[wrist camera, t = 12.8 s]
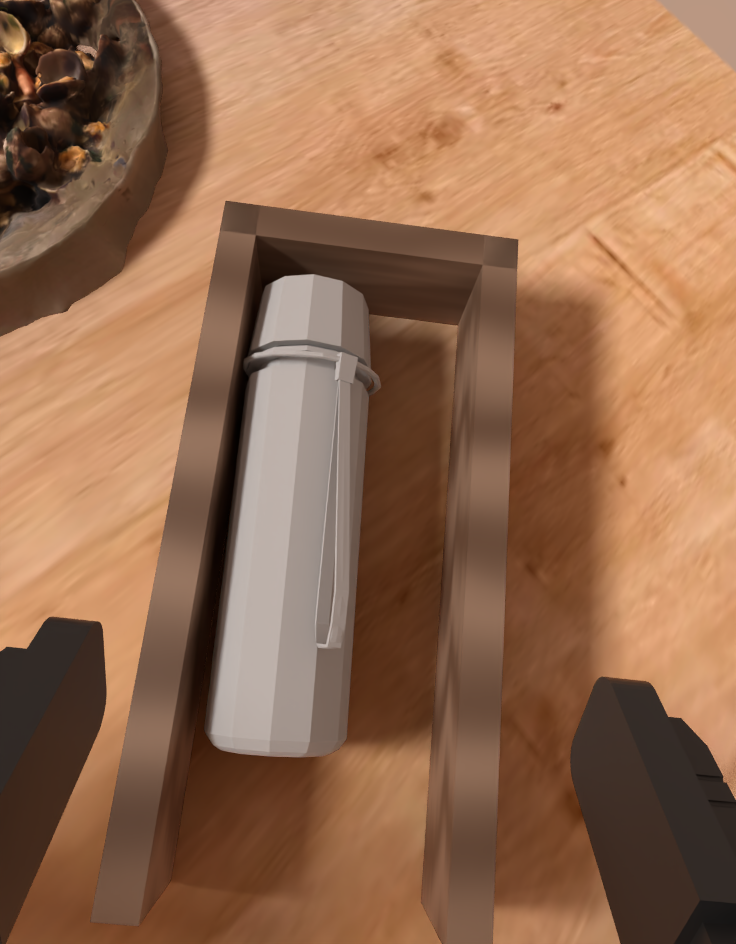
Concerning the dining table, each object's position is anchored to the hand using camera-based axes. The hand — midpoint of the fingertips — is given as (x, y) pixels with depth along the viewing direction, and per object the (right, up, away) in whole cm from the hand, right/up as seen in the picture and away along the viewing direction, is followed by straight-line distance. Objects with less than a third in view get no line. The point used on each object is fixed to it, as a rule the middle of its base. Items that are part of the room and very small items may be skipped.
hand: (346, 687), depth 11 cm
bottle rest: (-2, -1, +30) cm, 30 cm away
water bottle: (-4, -10, +22) cm, 25 cm away
